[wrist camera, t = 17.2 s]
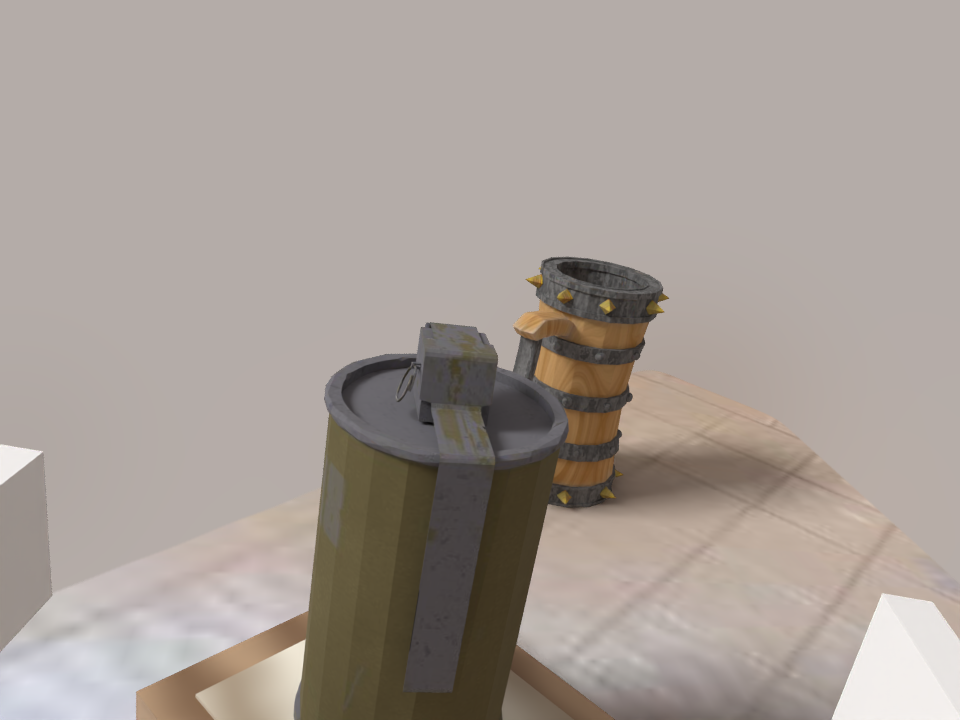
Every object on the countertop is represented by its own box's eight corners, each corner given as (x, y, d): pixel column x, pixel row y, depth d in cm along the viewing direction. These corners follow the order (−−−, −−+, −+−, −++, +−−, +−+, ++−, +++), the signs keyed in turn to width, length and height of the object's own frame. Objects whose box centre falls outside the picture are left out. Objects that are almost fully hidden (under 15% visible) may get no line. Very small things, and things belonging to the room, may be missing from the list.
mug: (648, 486, 76) (702, 287, 69) (546, 551, 63) (600, 315, 56) (541, 433, 83) (579, 248, 76) (429, 481, 70) (463, 264, 63)
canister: (299, 636, 44) (333, 289, 37) (484, 640, 46) (550, 313, 39) (284, 813, 34) (327, 385, 27) (521, 809, 36) (619, 410, 29)
